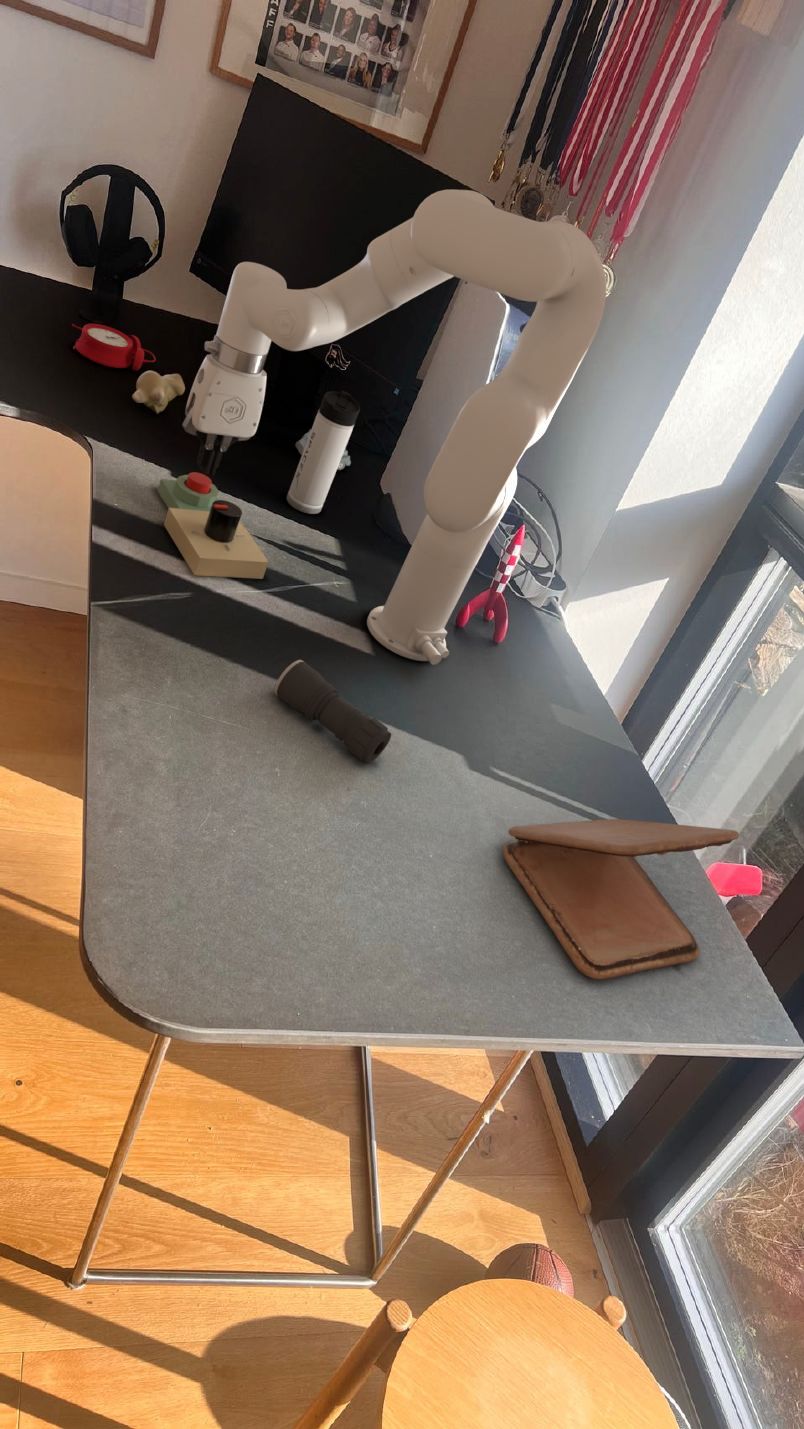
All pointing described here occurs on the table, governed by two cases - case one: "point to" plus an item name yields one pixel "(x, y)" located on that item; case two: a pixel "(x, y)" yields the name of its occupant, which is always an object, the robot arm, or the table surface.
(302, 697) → the flashlight
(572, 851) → the case
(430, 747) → the table surface
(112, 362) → the alarm clock
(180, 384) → the cream statuette
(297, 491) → the travel mug
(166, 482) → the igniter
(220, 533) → the knob
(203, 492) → the button
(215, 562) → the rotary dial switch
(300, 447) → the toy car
